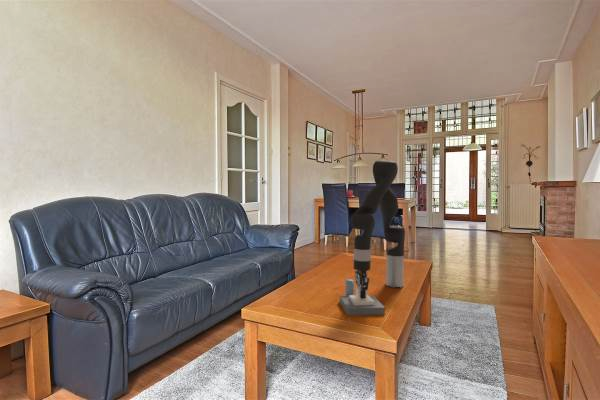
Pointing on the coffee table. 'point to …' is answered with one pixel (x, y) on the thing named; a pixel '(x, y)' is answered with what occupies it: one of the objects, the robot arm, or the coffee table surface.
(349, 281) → the peg
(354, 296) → the lid
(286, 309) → the coffee table surface
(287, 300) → the coffee table surface
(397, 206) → the robot arm
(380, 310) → the socket plate
